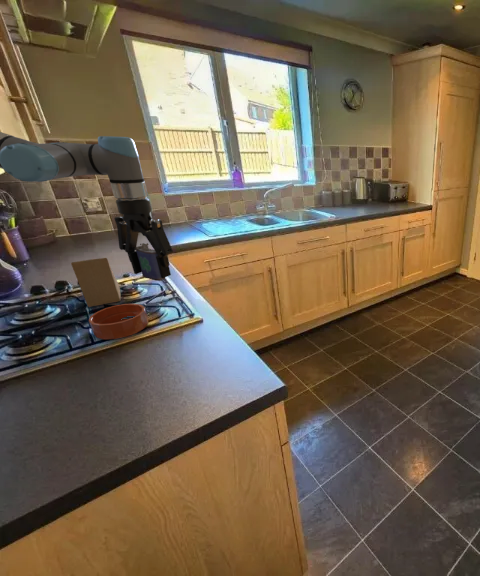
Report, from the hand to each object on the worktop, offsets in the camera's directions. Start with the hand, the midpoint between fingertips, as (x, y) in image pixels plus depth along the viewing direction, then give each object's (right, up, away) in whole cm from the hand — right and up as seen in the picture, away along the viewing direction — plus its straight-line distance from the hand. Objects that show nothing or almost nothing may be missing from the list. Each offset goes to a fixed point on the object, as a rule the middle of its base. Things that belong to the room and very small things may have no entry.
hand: (152, 274), depth 99 cm
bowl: (-4, -16, -7) cm, 18 cm away
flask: (0, -1, 0) cm, 1 cm away
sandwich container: (-24, -7, +12) cm, 28 cm away
